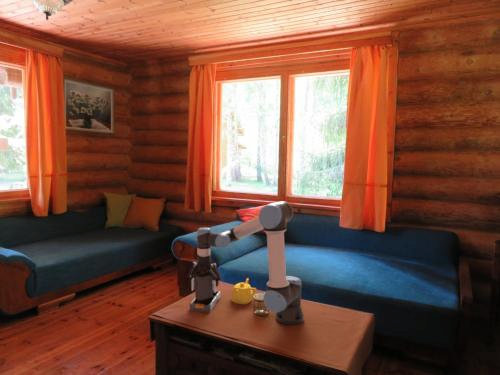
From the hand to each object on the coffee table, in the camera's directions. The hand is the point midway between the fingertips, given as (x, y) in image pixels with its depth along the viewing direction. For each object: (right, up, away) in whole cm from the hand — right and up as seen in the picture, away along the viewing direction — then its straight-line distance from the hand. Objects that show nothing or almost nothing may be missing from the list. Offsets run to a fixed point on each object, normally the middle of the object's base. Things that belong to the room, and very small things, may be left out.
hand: (204, 290), depth 211 cm
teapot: (+23, -9, +11) cm, 27 cm away
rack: (0, -9, +5) cm, 10 cm away
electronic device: (0, -9, +1) cm, 9 cm away
